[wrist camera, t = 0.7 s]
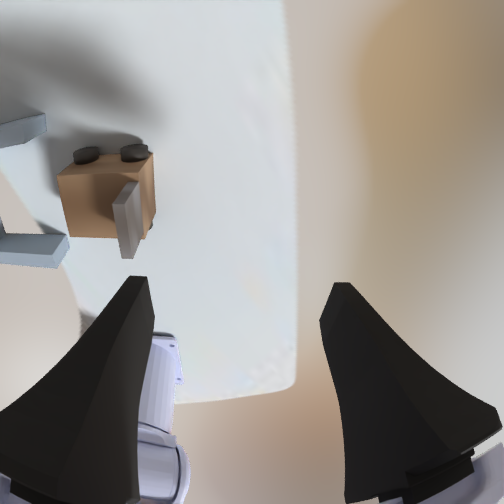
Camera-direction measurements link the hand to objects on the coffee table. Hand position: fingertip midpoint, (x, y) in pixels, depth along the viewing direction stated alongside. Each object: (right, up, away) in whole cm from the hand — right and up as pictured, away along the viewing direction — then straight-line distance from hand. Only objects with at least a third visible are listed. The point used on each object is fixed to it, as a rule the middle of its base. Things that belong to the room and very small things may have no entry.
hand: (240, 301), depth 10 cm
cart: (-8, +6, +7) cm, 12 cm away
